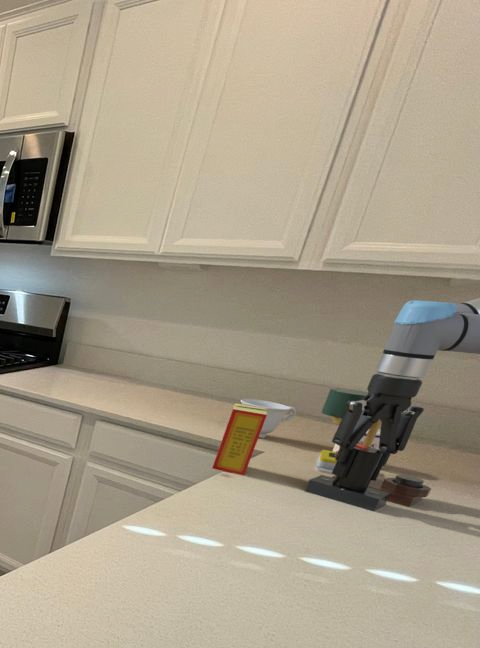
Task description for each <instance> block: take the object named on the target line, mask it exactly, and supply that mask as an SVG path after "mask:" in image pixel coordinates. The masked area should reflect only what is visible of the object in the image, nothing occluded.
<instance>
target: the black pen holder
mask: <svg viewBox="0 0 480 648" xmlns="http://www.w3.org/2000/svg"><path fill="white" fill-rule="evenodd" d="M353 449H354V450H356V451H357V452H356V454H355V456H354V459H353V461H352V463H351V466H350V468H349V470H348V472H347V475H346V477H345V478H341V477H339V476H335V475H334V476H335V478H334V481H333V483H334V484H335V485H338V486H340V487H343V488H347V489H351V490H357V491H366V490H367V488H368V485H369V483H370V481H371V479H372V477H373V474H374V472H375V470H376V468H377V466H378V464H379V461H380V459H381V457H382V455H383V452H382V451H380V450H378V449H374V448H370V447H366V446H362V445H359V444H357V445H356V446H355V447H354V448H353Z"/></svg>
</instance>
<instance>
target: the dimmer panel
mask: <svg viewBox="0 0 480 648" xmlns="http://www.w3.org/2000/svg"><path fill="white" fill-rule="evenodd" d="M332 477H333V476H329V475H325V474H320V475H318V476H316V477H313V478H310V479H308V483H307V485H306V486H305V489H304V492H305V493H308V494H312V495H316V496H319V497H322V498H326V499H329V500H333V501H336V502H340V503H343V504H346V505H350V506H353V507H357V508H361V509H364V510H366V511H370V512H376V511H377V510H380V509H381V508H383V507H385V506H386V504H387V502H388V501H387V500H388V498H389V496H390V494H391V493H388V492H384V491H380V490H377V489H373V488H369V487H368V488H367V490H366V491H357V490H351V489H347V488H343V487H340V486H338V485H335V484H334V483H333V481H334V478H332Z"/></svg>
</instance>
